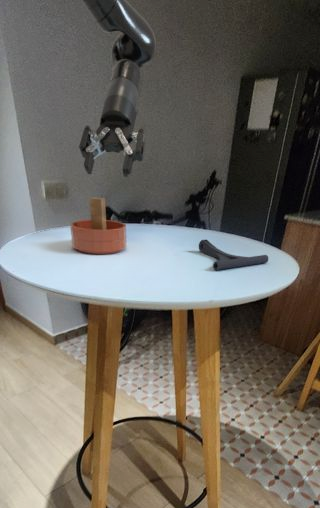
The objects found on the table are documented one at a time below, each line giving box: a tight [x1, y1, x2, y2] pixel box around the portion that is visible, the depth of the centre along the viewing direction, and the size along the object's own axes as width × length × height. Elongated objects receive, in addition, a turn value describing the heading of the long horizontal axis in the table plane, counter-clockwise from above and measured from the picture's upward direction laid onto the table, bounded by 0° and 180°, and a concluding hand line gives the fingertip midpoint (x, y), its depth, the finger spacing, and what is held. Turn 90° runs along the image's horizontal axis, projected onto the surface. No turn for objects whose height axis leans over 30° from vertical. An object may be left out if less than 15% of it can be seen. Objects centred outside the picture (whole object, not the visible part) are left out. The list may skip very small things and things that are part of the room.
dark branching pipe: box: [198, 239, 269, 271], centre depth 81 cm, size 14×15×3 cm
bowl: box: [69, 219, 127, 255], centre depth 83 cm, size 12×12×5 cm
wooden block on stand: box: [89, 196, 107, 230], centre depth 81 cm, size 5×5×10 cm
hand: (106, 172), depth 81 cm, fingers open, 8 cm apart
